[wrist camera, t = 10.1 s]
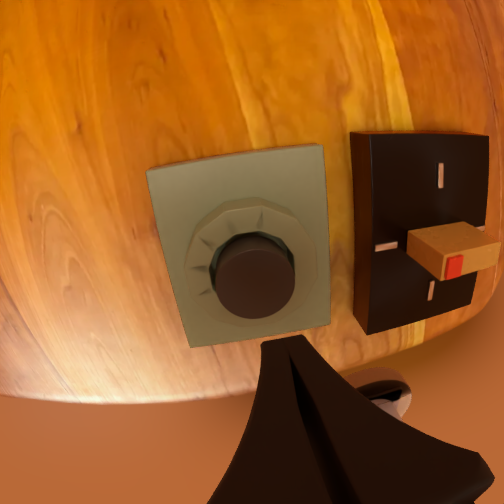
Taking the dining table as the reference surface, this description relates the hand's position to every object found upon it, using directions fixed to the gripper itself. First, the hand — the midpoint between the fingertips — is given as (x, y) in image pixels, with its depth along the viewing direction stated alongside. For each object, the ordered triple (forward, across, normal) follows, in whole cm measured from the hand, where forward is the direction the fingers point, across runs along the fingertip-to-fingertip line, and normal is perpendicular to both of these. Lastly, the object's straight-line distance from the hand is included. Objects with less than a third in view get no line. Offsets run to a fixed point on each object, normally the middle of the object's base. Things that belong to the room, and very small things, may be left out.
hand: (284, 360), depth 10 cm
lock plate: (+9, -11, 0) cm, 14 cm away
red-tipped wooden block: (+7, -11, 0) cm, 13 cm away
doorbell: (+9, 0, 0) cm, 9 cm away
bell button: (+7, 0, 0) cm, 7 cm away
